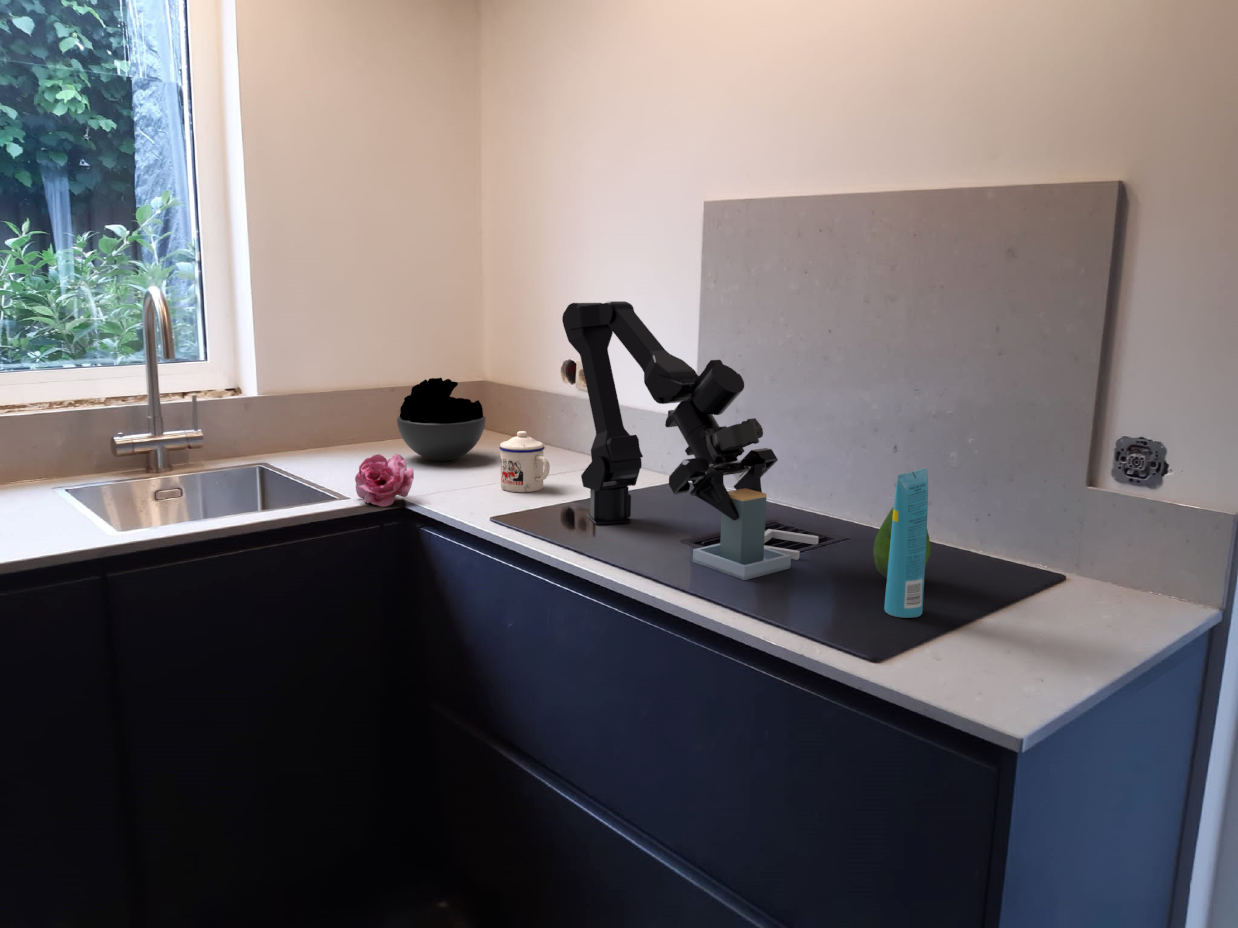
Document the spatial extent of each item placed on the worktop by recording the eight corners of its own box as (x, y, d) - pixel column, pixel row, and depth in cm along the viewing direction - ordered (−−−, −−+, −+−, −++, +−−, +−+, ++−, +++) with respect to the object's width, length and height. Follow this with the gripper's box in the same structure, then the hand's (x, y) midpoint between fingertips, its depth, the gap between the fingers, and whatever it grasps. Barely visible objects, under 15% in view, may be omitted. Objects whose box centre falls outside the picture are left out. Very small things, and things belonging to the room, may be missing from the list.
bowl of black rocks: (455, 449, 235) (454, 372, 232) (502, 461, 221) (502, 380, 217) (381, 458, 222) (379, 377, 218) (427, 472, 208) (425, 386, 204)
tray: (692, 561, 148) (693, 549, 147) (738, 551, 154) (738, 539, 153) (744, 580, 139) (744, 567, 139) (790, 568, 145) (791, 555, 145)
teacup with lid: (490, 488, 195) (489, 431, 192) (522, 481, 201) (522, 426, 199) (532, 497, 187) (532, 439, 185) (564, 490, 194) (564, 433, 192)
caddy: (719, 559, 146) (722, 492, 144) (742, 553, 150) (745, 488, 148) (740, 566, 143) (743, 497, 141) (763, 560, 146) (766, 493, 144)
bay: (745, 551, 154) (745, 544, 153) (768, 535, 163) (768, 528, 163) (797, 559, 150) (797, 552, 149) (818, 543, 159) (818, 536, 159)
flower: (389, 525, 178) (356, 485, 174) (371, 517, 186) (339, 479, 182) (434, 484, 182) (403, 444, 178) (415, 479, 190) (384, 440, 186)
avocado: (919, 593, 135) (926, 510, 133) (864, 582, 139) (870, 502, 137) (933, 578, 142) (940, 499, 139) (881, 569, 146) (886, 492, 144)
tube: (897, 601, 132) (908, 464, 128) (931, 609, 128) (943, 469, 125) (873, 615, 126) (884, 472, 122) (908, 624, 123) (920, 478, 119)
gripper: (684, 406, 139) (734, 494, 133) (771, 397, 150) (822, 478, 144) (647, 450, 146) (694, 536, 140) (733, 439, 158) (780, 518, 152)
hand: (750, 516), depth 144 cm, fingers open, 5 cm apart
